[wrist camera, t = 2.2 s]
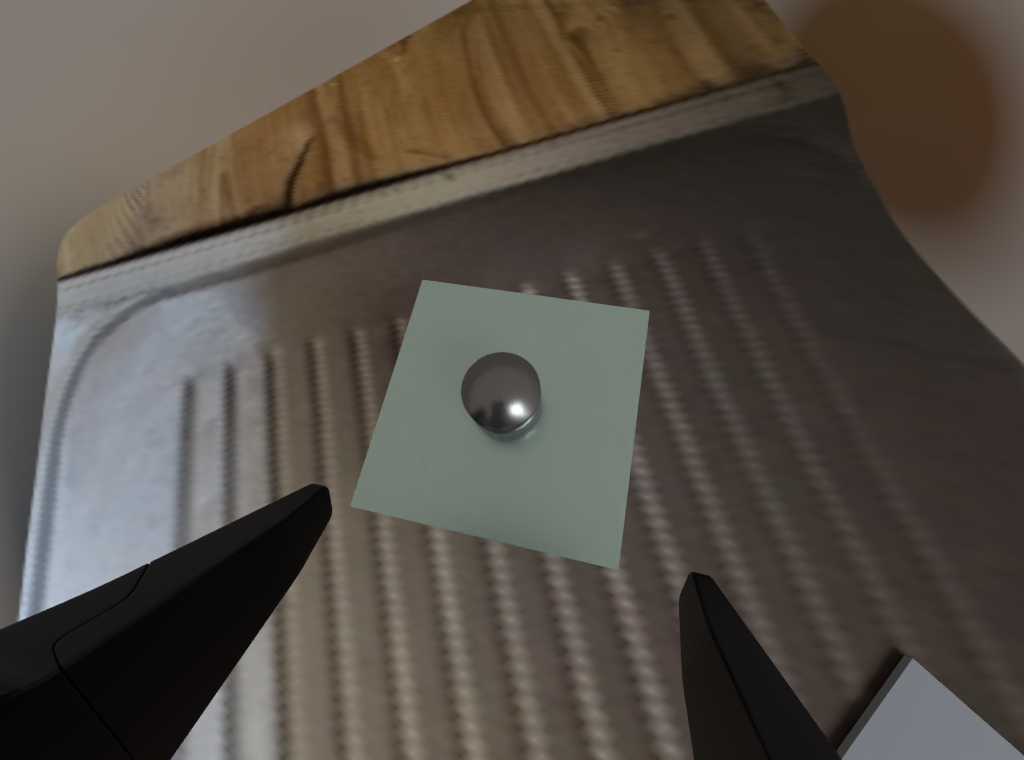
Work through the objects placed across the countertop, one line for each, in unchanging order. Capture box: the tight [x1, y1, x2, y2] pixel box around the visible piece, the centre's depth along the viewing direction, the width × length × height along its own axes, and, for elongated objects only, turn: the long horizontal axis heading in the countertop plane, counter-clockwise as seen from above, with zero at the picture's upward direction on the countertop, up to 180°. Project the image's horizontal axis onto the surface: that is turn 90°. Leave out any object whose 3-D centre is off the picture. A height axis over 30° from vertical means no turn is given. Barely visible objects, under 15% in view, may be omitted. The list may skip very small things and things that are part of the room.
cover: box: [350, 280, 649, 570], centre depth 13 cm, size 5×5×14 cm
